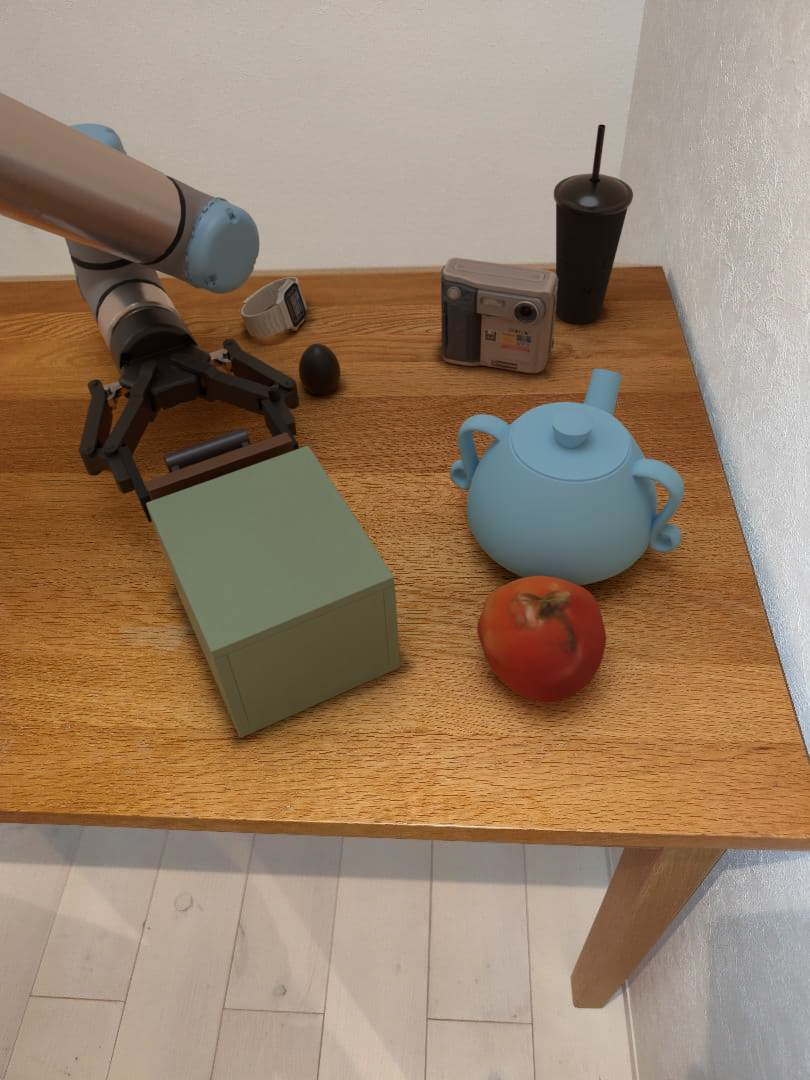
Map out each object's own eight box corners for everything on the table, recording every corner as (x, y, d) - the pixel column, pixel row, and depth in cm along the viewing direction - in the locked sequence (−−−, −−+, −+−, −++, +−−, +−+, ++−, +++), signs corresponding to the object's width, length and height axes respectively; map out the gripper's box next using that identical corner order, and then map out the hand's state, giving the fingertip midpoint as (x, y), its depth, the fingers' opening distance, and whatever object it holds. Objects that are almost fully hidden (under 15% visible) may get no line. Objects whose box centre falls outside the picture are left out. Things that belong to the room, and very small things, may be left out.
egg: (296, 397, 89) (289, 356, 85) (308, 372, 92) (302, 331, 88) (335, 402, 88) (330, 361, 84) (346, 377, 91) (342, 335, 87)
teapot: (413, 561, 74) (408, 447, 65) (501, 416, 86) (508, 303, 77) (647, 640, 68) (680, 528, 59) (707, 473, 80) (742, 358, 70)
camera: (434, 363, 92) (433, 276, 84) (451, 331, 95) (451, 246, 88) (542, 383, 89) (551, 296, 82) (556, 350, 93) (565, 264, 85)
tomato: (482, 609, 71) (485, 542, 65) (600, 622, 69) (614, 555, 63) (469, 711, 64) (471, 647, 58) (598, 726, 63) (614, 663, 57)
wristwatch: (285, 350, 94) (278, 309, 90) (231, 340, 96) (222, 300, 92) (317, 302, 100) (312, 262, 96) (266, 294, 101) (259, 254, 98)
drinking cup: (529, 318, 97) (545, 132, 82) (563, 284, 101) (583, 102, 86) (593, 340, 94) (621, 151, 79) (625, 305, 98) (657, 119, 83)
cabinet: (178, 595, 73) (145, 502, 64) (322, 539, 76) (308, 444, 68) (240, 738, 64) (210, 652, 56) (400, 667, 67) (394, 576, 59)
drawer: (154, 519, 77) (126, 442, 70) (279, 474, 80) (264, 396, 74) (225, 680, 66) (200, 607, 59) (367, 620, 69) (358, 544, 62)
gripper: (273, 337, 90) (363, 467, 77) (35, 411, 84) (89, 567, 71) (261, 271, 85) (357, 399, 72) (5, 345, 78) (58, 501, 65)
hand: (224, 482), depth 71 cm, fingers closed on drawer, 12 cm apart
